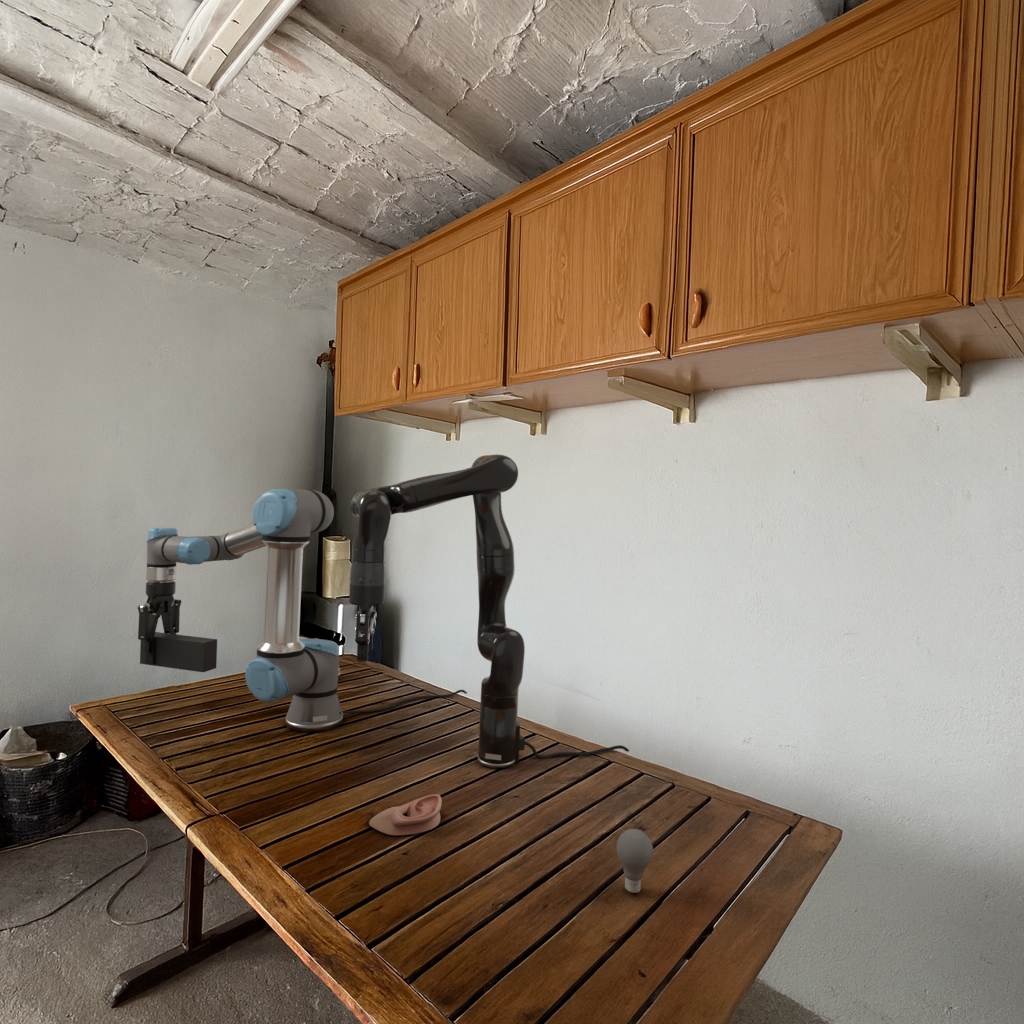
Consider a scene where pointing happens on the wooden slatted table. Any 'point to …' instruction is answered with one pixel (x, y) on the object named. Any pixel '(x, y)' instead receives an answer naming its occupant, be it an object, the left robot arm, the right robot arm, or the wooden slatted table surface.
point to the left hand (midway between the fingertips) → (158, 660)
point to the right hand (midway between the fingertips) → (364, 656)
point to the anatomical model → (409, 817)
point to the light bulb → (634, 857)
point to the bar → (183, 652)
